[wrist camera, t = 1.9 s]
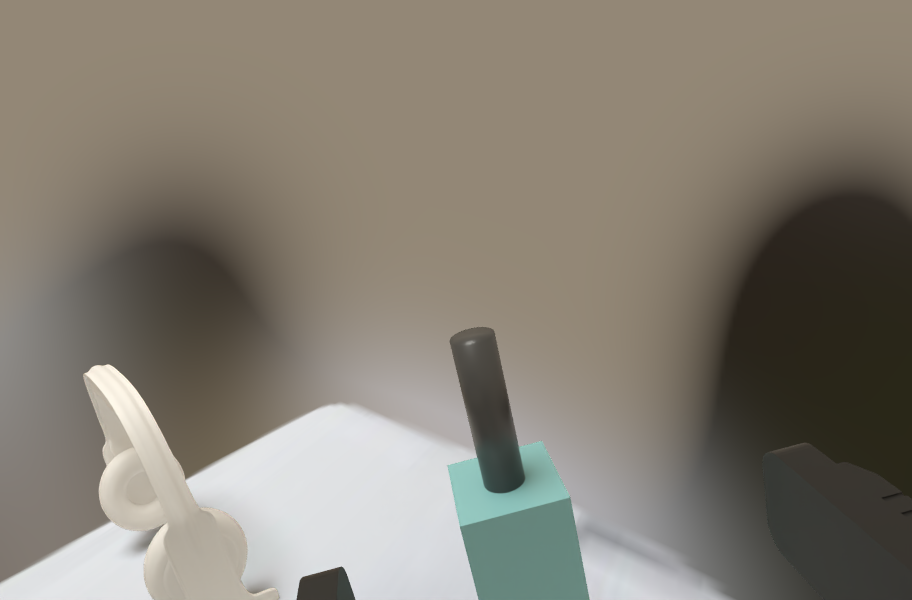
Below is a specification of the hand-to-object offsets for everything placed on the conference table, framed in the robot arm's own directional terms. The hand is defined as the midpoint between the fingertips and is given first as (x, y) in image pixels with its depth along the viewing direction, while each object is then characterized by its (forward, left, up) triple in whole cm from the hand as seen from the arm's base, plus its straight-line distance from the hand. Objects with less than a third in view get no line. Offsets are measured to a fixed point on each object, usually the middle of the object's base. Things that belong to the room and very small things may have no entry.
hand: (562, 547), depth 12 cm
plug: (-10, +5, -22) cm, 25 cm away
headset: (-42, -7, -23) cm, 49 cm away
